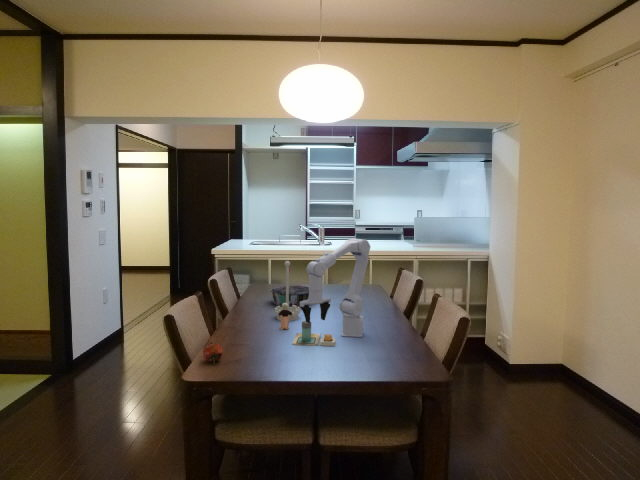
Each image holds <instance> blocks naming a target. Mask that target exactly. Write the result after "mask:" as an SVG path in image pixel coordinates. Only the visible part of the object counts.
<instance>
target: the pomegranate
mask: <svg viewBox="0 0 640 480" xmlns="http://www.w3.org/2000/svg"><path fill="white" fill-rule="evenodd" d="M202 352H203V355H202V356H203V358H204V360H205V361H206V362H208V363H210V362H213V365H214V366H215V365H216V364H215V362H217V361H220V360H221V359H222V357H223V355H224V349H223V347H222V346H221V345H220V344H219V343H215V342H214V343H213V342H212V341H211V342H210V344H208V345H206V346H205V347H204V349H203V351H202Z"/></svg>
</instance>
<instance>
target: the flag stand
mask: <svg viewBox="0 0 640 480" xmlns="http://www.w3.org/2000/svg"><path fill="white" fill-rule="evenodd" d="M284 266H285V286H286V303H287V304H288V305H289V286H290V279H289V278H290V271H291V268H290V266H291V262H290V261H289V260H285V262H284ZM281 310H283V307H282V306H277V305H276V307H274V314H275V315H276V319H277V320H278V321H281V316H282V315H280V317H279V318H277V316H278V314H279V313H280V311H281ZM287 310H289V311H290V312H292V314H293V316H294V317H293V318H292V317H291V315H288V316H289V322H290V321H296V320H298V318H299V314H300V313H301V307H300V306H299V307H297V306H295V305H292V307H288V309H287Z"/></svg>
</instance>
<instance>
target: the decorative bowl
mask: <svg viewBox="0 0 640 480" xmlns="http://www.w3.org/2000/svg"><path fill="white" fill-rule="evenodd" d="M269 291H270V294H271V297H272V299H273V302H274V304H275V305H276V307H277V306H281V307H282V304H283V303H286V285H284V286H278V287H274V288H271V289H270V290H269ZM308 299H309V286H307V285H306V286H305V285H289V307H292V305H295V306H297V307H300V308H301V306H300V301H305V300H308Z"/></svg>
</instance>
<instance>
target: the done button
mask: <svg viewBox="0 0 640 480" xmlns="http://www.w3.org/2000/svg"><path fill="white" fill-rule="evenodd" d="M332 336H333V335H332V334H330V333H329V334H327V333H326V334H324V335H323V338H324V341H330V342H331V341H332V338H333V337H332Z"/></svg>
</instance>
